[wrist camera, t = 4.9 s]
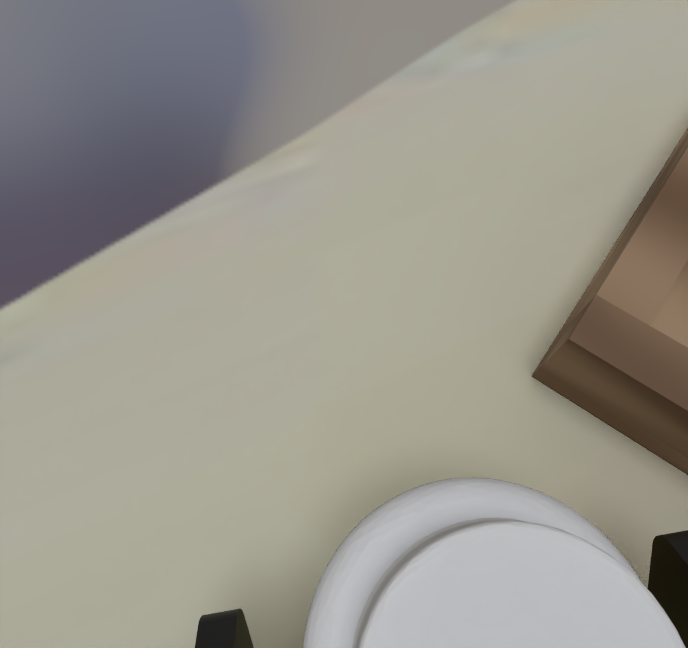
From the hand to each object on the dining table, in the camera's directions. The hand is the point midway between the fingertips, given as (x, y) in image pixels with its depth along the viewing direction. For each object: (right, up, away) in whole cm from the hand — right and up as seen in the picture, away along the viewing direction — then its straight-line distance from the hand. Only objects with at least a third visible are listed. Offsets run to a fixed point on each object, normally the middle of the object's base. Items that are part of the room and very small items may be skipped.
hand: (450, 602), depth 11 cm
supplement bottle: (0, -3, +5) cm, 6 cm away
